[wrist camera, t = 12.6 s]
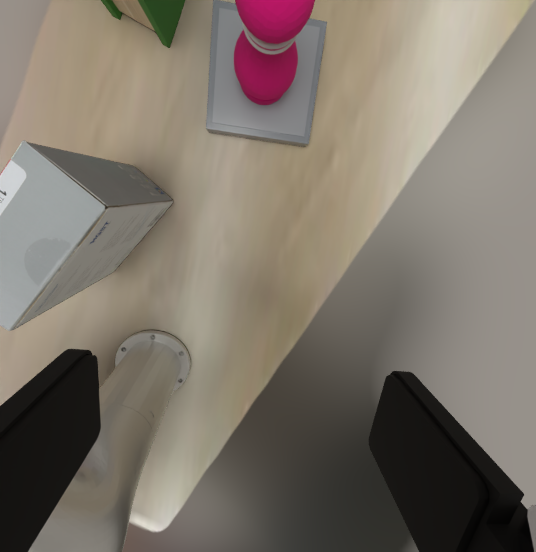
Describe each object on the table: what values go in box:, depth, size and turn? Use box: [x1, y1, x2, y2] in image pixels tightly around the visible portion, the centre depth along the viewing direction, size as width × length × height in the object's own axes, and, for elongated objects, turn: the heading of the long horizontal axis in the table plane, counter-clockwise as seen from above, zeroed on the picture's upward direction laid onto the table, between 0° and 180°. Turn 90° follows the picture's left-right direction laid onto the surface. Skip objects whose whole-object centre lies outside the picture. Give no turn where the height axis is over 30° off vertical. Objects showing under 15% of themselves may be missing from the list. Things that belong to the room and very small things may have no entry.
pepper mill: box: [234, 0, 315, 105], centre depth 26 cm, size 7×7×20 cm
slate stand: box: [206, 0, 327, 147], centre depth 37 cm, size 14×14×3 cm
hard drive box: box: [0, 140, 173, 331], centre depth 32 cm, size 16×8×20 cm, turn 136°
